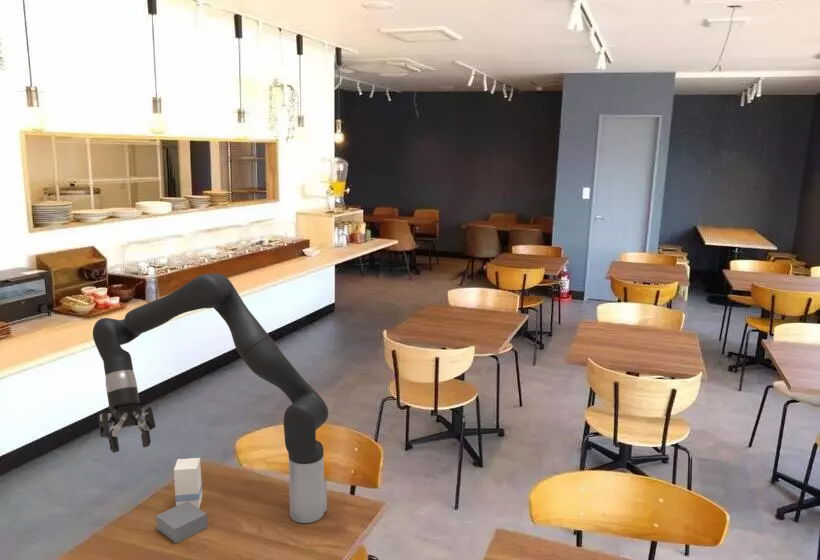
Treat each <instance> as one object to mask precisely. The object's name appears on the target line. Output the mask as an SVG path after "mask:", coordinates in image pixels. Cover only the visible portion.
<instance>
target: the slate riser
mask: <svg viewBox="0 0 820 560" xmlns="http://www.w3.org/2000/svg"><path fill="white" fill-rule="evenodd" d="M155 517H156V518H155V519H156V529H157V530H158V531H159V532H160V533H161V534H162V535H164V537H165V536H166V538H168V539H170V540H171V541H172V542H173V543H174V544H178V543H180V542H182V541H184V540H187V539H188V538H190V537H192V536H194V535H196V534H197V533H200V532H201V531H204V530H206V529H208V514H207V512H205V511H204V510H202V509H200V508H197V507H196V506H194V505H193V504H191V503H190V502H188V501H187V502H185V503H182V504H180V505H178V506H176V505H175V506H174V507H172V508H169V509H168V510H165V511H163V512H161V513H159V514H157V515H155Z"/></svg>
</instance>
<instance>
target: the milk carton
mask: <svg viewBox="0 0 820 560" xmlns="http://www.w3.org/2000/svg"><path fill="white" fill-rule="evenodd" d="M173 477H174V478H173V479H174V494H175V496H174V497H175V498H174V499H175V507H176V506H178V505H180V504H182V503H185V502H187V501H188V502H190V503H191V504H193V505H194V506H196V507H197V508H199V509H200V508H201V507H200V506H201V503H202V499H203V485H202V484H203V483H202V467H201V457H193V458H192V457H191V458H189V457H188V458H178V459H177V460H176V462H175V465H174V469H173Z"/></svg>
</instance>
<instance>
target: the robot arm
mask: <svg viewBox="0 0 820 560" xmlns="http://www.w3.org/2000/svg"><path fill="white" fill-rule="evenodd" d="M202 309H213V310H215V311H216V313H218V315H220V317H221V318H222V319H223V320H224V323H226V325H227V326H228V329H229V331H230V334H231V337H232V341H233V344H234V347H235V349H236V352H237V353H238V354H239V356H240V357H241V358H242V361H243V362H244V363H245V364H246V366H247V367H248V368H249V369H250V370H251V372H253V374H255V375H256V376H258V377H259V378H261V379H262V380H264V381H267V383H270V384H272V385H274V386H275V387H277V388H278V389H279V390H281V391H282V392H283V394H285V396H287V398H288V399H289V400H290V402H291V404H290V405H289V406H287V408H286V409H285V411H284V415H283V433H284V443H285V444H284V446H285V449H286V451H287V452H288V481H289V482H288V487H289V488H288V489H289V490H288V491H289V517H290V518H291V520H293V521H294V522H296V523H299V524H310V523H314V522H317V521H319V520H320V519H322V518H323V516H324V515H325V513H326V512H327V511H328V489H327V487H328V485H327V482H328V480H327V478H325V477H324V476H325V475H324V474H325V466H324V463H325V461H324V457H325V456H324V446H323V444H322V442H321V441H319V440H317V437H316V436H317V435H316V433H317V430H318V429H319V428H321V426H323V425H324V424H325V423H326V422H327V420H328V418H329V408H328V406H327V404H326V402H325V400H324V399H323V398H322V397H321V396H320V394H318V392H317V391H316V390H315V389H314V388H313V387H312V386H311V385H310V384H309V383H308V382H307V381H306V380H305V379H304V378H303V376H302V375H301V374H300V373H299V372H298V371H297V369H296V368H295V367H294V366H293V364H292V363H291V362H290V361H289V360H288V358H287V357H286V356H285V354H284V352H282V351H281V349H280V347H279V346H278V344H276V342H275V341H274V339H273V338H272V337H271V336H270V335H269V333H268V332H267V331H266V329H264V327H263V326H262V325H261V324H260V322H259V321H258V320H257V319H256V317H255V315H254V314H252V312H251V311H250V310H249V308H248V307H247V306H246V304H245V302H244V301H243V299H242V298H241V296H240V294H239V293H238V291H237V289H236V287H235V286H234V285H233V283H232V282H231V281H230V280H229V278H228V277H227V276H225V275H223V274H221V273H204V274H200V275H198V276H196V277H195V278H194V279H192V280H190V281H188V282H187V283H186V284H184V285H183V286H181V287H179V288H178V289H176V290H174V291H173V292H171V293H169V294H167V295H164V296H163V297H160V298H157V299H155V300H152V301H150V302H147V303H144V304H143V305H142V304H141V305H139V306H138V307H135V308H133V309H130V311H128V312H127V313H126V314H125V316H124V318H122V319H115V318H110V317H103V318H100V319H98V320H97V321H96V322H95V324H94V325H93V329H92V339H93V342H94V344H95V346H96V349H97V351H98V354H99V357H100V358H101V360H102V362H103V368H104V369H103V370H104V375H105V391H106V394H107V395H106V396H107V401H108V408H109V411H110V412H108V413H107V412H106V411H105V412H103V413H101V414H99V415H98V425H99V426H98V428H99V436H100V437H101V438H107V439H108V445H109V450H110V451H112V453H113V454H115V453H118V452H120V446H119V445H120V444H119V439H118V436H117V435H118V433H119V431H120V430H121V429H124V428H125V427H127V428H130V427H134V428H135V429H137V430H138V431H139V432H140V436H141V437H140V438H141V442H142V448H147V447H149V446H150V444H151V442H152V441H151V436H150V431H152V430H153V429H155V428H156V422H155V418H154V414H153V409H152V407H151V406H148V407H145V408H141V407H140V396H139V391H138V390H139V389H138V383H137V379H136V376H135V371H134V368H133V367H134V366H133V361H132V360H133V359H132V356H131V353H130V352H129V351H128V350H125V349H124V348H122V346H123V345H126V344H129V343H131V342H132V341H134V340H135V339H136V338H138V337H140V335H142V334H143V333H146V332H149V331H151V330H154V329H156V328H158V327H161V326H162V325H164V324H166V323H168V322H169V321H171V320H172V319H174V318H176V317H178V316H180V315H183V314H186V313H188V312H193V311H198V310H202ZM142 417H143V418H144V419H143V418H142ZM110 419H111V421H113V423H112V425H111V427H109V426H110V425H109V421H110Z"/></svg>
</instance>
